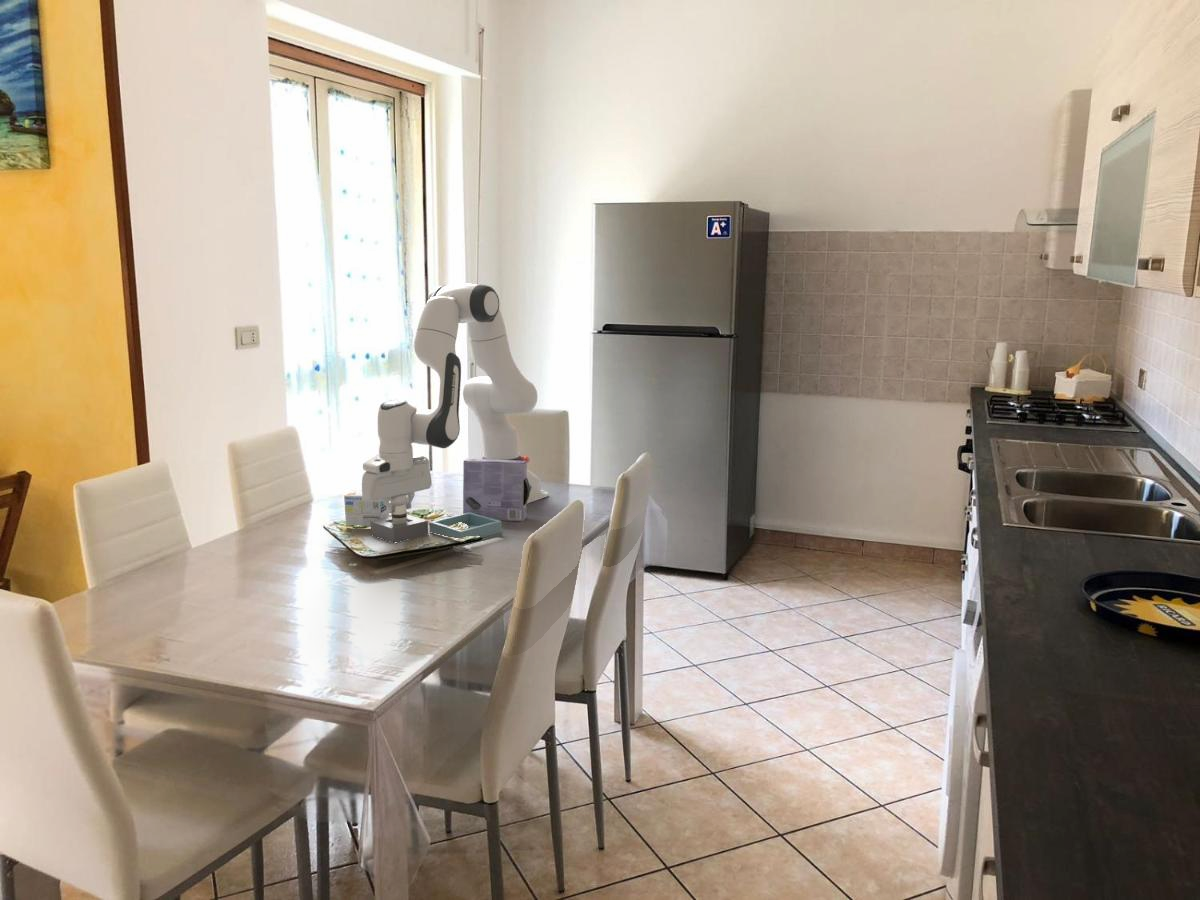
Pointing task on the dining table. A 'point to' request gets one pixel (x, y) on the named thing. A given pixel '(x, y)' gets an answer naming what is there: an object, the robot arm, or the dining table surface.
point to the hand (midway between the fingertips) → (399, 510)
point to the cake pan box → (495, 488)
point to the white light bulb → (399, 509)
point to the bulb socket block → (399, 529)
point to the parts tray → (474, 521)
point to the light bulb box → (362, 509)
